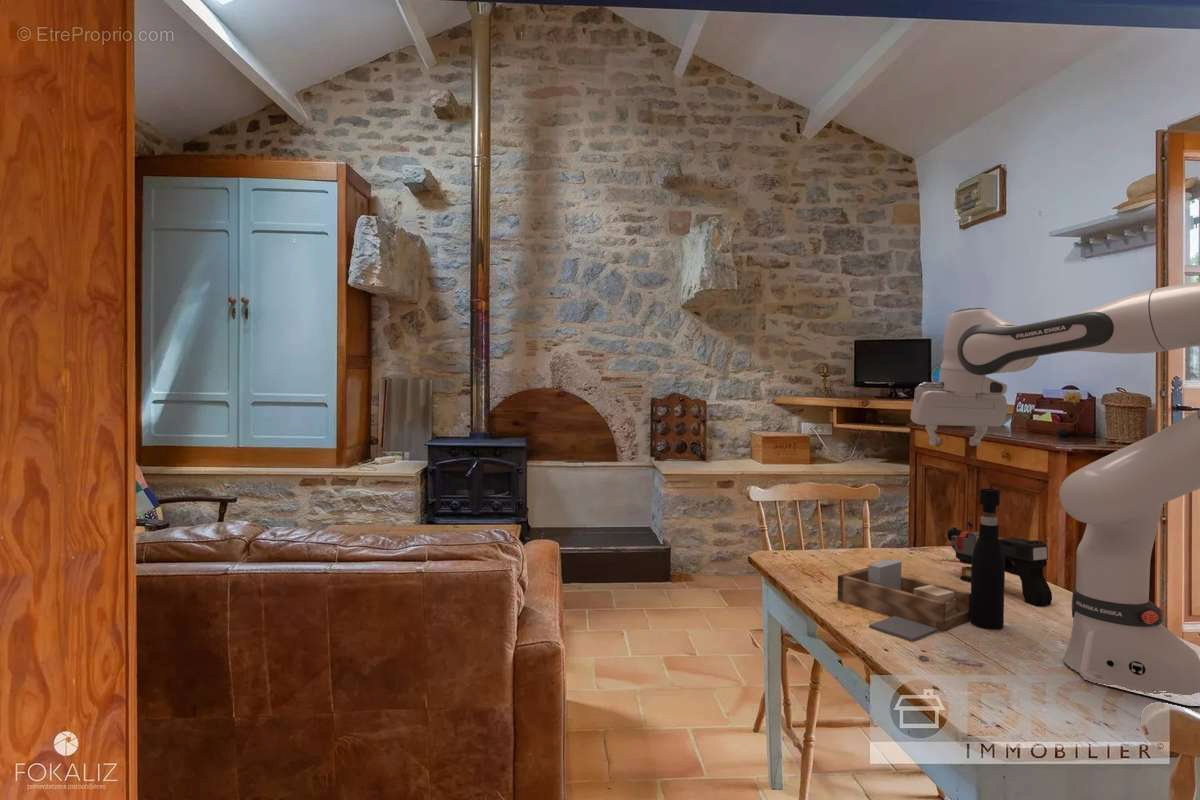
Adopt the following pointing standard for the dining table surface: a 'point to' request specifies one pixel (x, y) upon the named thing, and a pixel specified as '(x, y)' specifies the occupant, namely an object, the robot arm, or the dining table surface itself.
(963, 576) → the toy gun
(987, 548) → the wine bottle
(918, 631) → the flat gray square tile
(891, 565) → the gray rectangular block
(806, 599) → the dining table surface
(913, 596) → the wooden box
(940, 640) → the dining table surface
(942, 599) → the offcut top
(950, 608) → the block
